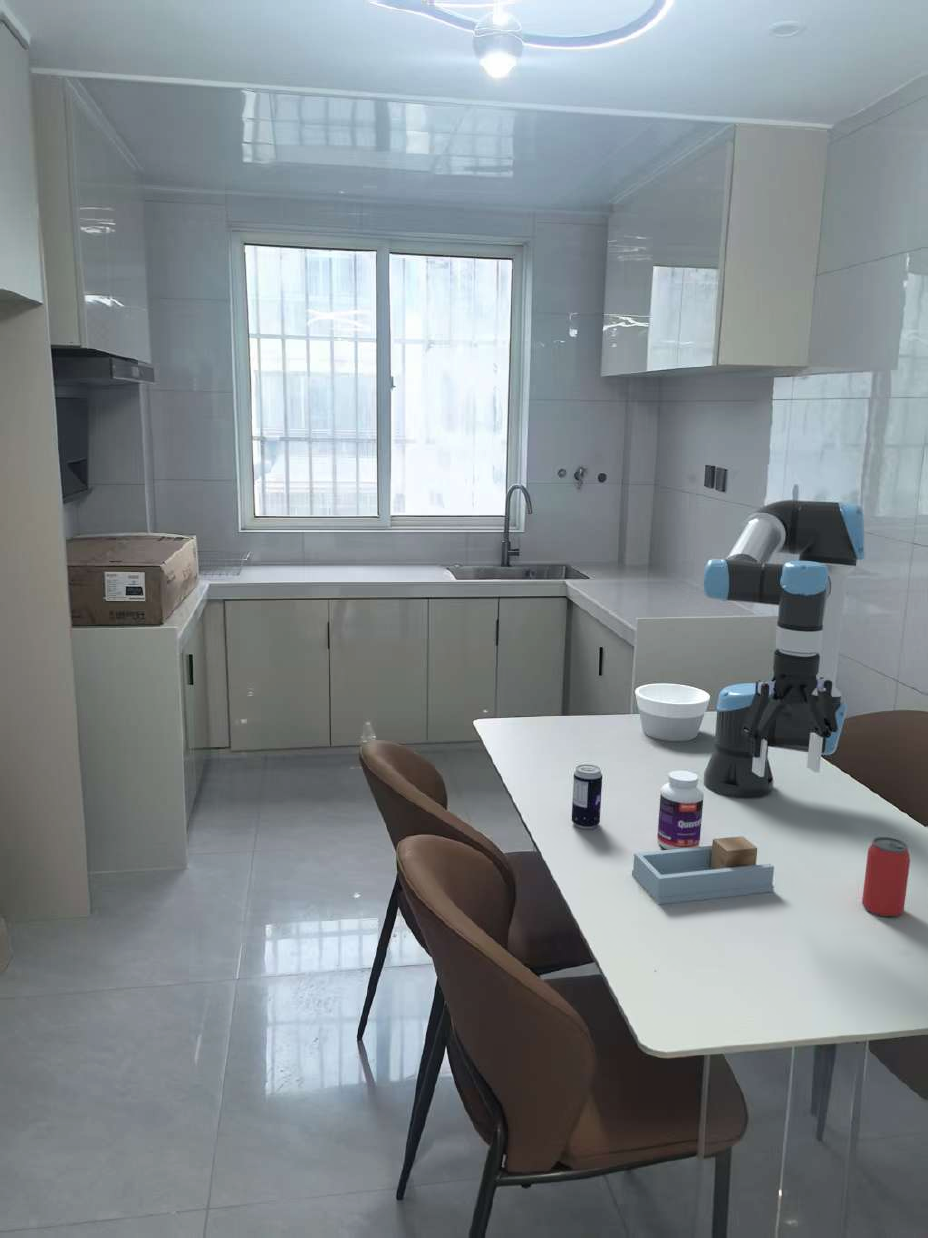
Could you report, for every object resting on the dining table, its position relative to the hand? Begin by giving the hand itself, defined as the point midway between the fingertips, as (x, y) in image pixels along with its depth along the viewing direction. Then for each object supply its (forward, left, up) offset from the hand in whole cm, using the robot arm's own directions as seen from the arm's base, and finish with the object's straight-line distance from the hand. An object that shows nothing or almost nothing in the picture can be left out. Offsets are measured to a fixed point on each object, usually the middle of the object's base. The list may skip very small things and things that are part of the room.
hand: (785, 771), depth 173 cm
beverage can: (+26, -28, -20) cm, 43 cm away
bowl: (-18, -79, -20) cm, 83 cm away
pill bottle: (+12, -15, -20) cm, 28 cm away
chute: (+15, 0, -20) cm, 25 cm away
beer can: (-11, +15, -20) cm, 27 cm away
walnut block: (+9, 0, -19) cm, 21 cm away
